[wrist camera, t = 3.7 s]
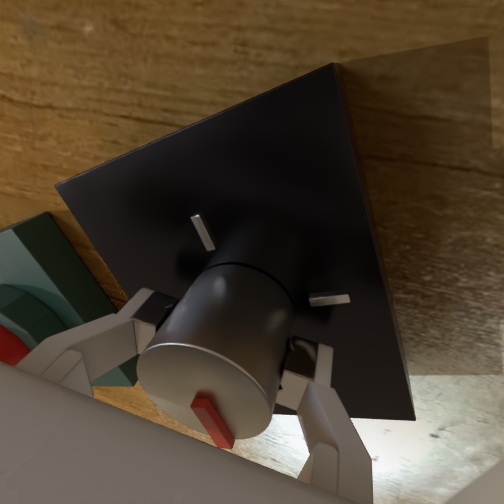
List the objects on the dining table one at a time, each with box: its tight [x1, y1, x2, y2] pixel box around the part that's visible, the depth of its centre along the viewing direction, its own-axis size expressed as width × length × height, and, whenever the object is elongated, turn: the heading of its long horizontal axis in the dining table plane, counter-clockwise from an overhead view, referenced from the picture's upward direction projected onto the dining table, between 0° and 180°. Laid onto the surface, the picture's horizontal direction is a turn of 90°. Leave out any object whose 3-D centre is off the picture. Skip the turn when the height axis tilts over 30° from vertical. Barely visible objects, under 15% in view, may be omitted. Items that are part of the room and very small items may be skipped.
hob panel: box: [54, 63, 416, 421], centre depth 14 cm, size 14×11×3 cm
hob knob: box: [136, 265, 295, 449], centre depth 11 cm, size 4×4×4 cm
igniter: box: [0, 212, 140, 386], centre depth 20 cm, size 12×10×4 cm
